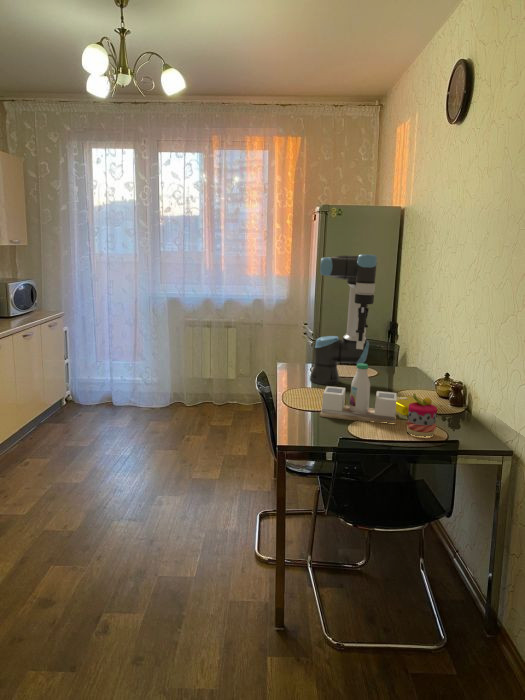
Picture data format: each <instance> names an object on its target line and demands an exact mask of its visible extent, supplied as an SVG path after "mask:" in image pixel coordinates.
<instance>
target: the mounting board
mask: <svg viewBox="0 0 525 700" xmlns="http://www.w3.org/2000/svg"><path fill="white" fill-rule="evenodd" d="M349 407H350V405H347V404H346V405H345V404H344V408H343V411H334V410H325V409H322V408H321V411H320V413H319V417H323V418H330V419H339V420H340V419H341V420H348V421H349V420H350V421H355V422H357V420H358V422H365V421H374V422H387V423H396V424H397V412H395V417H389V416H380V415H374V414H375V407H369V408H368V412H367V413H357V412H351V411H350V410H349Z"/></svg>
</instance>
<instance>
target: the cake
mask: <svg viewBox="0 0 525 700" xmlns="http://www.w3.org/2000/svg"><path fill="white" fill-rule="evenodd" d="M412 396H413V397H414V399H415V400H416V401H417V402H415V403H411V404H409V408H408V411H409V412H408V413H409V414H408V416H406V417H407V418H406V419H407V421H406V422H405V423H406V425H407V426H406V433H407V432H408V433H410V434H412V435H415V436H424V437H426V436H432V435H434V436H435V430H436V429H437V423H436V422H437V421H436V418H437V414H438V407H437V406H435V405H434V404H433V403H432V402H433V401H432V399H431V398H430V397H424V398H422V399H423V402H421V401H420V400H418V399H417V397H418V396H417V395H416V393H413V395H412ZM416 396H417V397H416ZM431 403H432V404H433V405H432V404H431Z"/></svg>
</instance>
